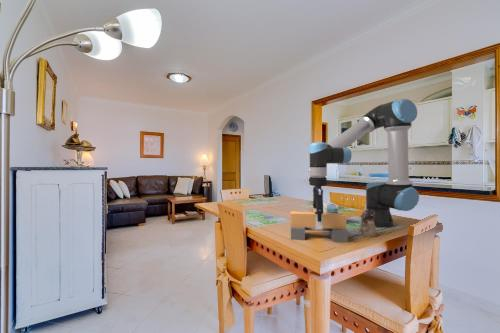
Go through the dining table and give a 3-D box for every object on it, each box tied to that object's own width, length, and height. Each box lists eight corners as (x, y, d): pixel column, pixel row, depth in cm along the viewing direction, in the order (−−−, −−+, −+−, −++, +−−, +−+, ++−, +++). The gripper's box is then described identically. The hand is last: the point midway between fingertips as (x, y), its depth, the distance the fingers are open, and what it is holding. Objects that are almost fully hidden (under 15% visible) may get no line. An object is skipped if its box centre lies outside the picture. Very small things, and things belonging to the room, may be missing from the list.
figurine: (359, 231, 119) (360, 207, 118) (375, 233, 115) (376, 208, 115) (358, 235, 112) (359, 210, 112) (376, 237, 109) (376, 211, 109)
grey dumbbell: (342, 235, 113) (342, 224, 113) (347, 242, 103) (347, 230, 103) (290, 232, 117) (290, 222, 116) (291, 239, 107) (291, 228, 107)
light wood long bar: (343, 226, 110) (343, 213, 110) (346, 229, 105) (346, 215, 105) (290, 223, 114) (290, 211, 114) (290, 226, 109) (290, 213, 109)
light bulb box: (339, 225, 130) (339, 205, 130) (326, 225, 131) (326, 205, 130) (332, 220, 141) (332, 202, 141) (321, 220, 141) (321, 201, 141)
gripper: (307, 175, 121) (307, 219, 121) (311, 178, 99) (311, 232, 99) (322, 175, 120) (322, 219, 120) (330, 178, 97) (330, 233, 98)
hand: (317, 225), depth 110 cm, fingers open, 10 cm apart
